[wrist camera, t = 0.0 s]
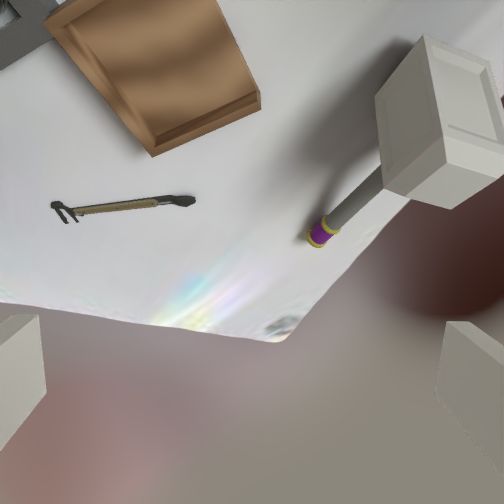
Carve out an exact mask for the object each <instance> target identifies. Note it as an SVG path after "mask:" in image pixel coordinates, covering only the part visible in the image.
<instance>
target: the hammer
mask: <svg viewBox="0 0 504 504" xmlns="http://www.w3.org/2000/svg"><path fill="white" fill-rule="evenodd" d="M374 100H375V110H376V120H377V130H378V140H379V150H380V160H381V165H380V166H379V167H378V168H377V169H376V170H375V171H374V172H373V173H372V174H371V175H369V176H368V177H367V178H366V179H365V180H364V181H363V182H362V183H361V184H360V185H359V186H358V187H357V188H356V189H355V190H354V191H353V192H352V193H351V194H350V195H349V196H348V197H347V198H346V199H345V200H344V201H342V202H341V203H340V204H339V205H338V206H337V207H336V208H335V209H334V210H333V211H332V212H331V213H330V214H328V215H325V216H324V217H323V218H322V220H321V221H320V222H319V223H318V224H317V225H316V226H315V227H314V228H311V229H310V230H309V231H308V233H307V240H308V242H309V243H310V244H311V245H312V246H313V247H316V248H321V247H323V246H324V245H325V244H326V242H327V240H328V239H330V238H331V237H332V236H333V235H334V234H337V233H338V232H339V231H340V229H341V227H342V226H343V225H344V224H345V223H346V222H347V221H348V220H349V219H351V218H352V217H353V216H354V215H355V214H356V213H357V212H358V211H359V210H360V209H361V208H362V207H363V206H365V205H366V204H367V203H368V202H369V201H370V200H371V199H372V198H373V197H375V196H376V195H377V194H378V193H379V192H380V191H381V190H382V189H383V188H384V189H387V190H389V191H392V192H394V193H396V194H399V195H401V196H404V197H407V198H411V199H415V200H418V201H422V202H426V203H429V204H432V205H436V206H440V207H443V208H447V209H452V208H454V207H455V206H457V205H458V204H460V203H461V202H463V201H464V200H466V199H467V198H469V197H471V196H472V195H474V194H475V193H477V192H478V191H480V190H481V189H483V188H484V187H486V186H488V185H489V184H491V183H492V182H494V181H495V180H497V179H498V178H499V177H500V176H502V175H503V174H504V110H503V107H502V103H501V100H500V96H499V93H498V90H497V86H496V83H495V80H494V76H493V73H492V69H491V66H490V63H489V61H487V60H484V59H482V58H480V57H477V56H475V55H472V54H470V53H467V52H465V51H463V50H460V49H458V48H455V47H453V46H450V45H448V44H445V43H443V42H441V41H438V40H436V39H433V38H431V37H428V36H426V35H424V34H423V35H422V37H421V38H420V39H419V40H418V42H417V43H416V44H415V45H414V47H413V48H412V49H411V51H410V52H409V53H408V54H407V56H406V57H405V58H404V59H403V61H402V62H401V63H400V64H399V66H398V67H397V68H396V69H395V71H394V72H393V73H392V75H391V76H390V77H389V78H388V80H387V81H386V82H385V83H384V85H383V86H382V87H381V88H380V90H379V91H378V92H377V94H376V95H375V96H374Z"/></svg>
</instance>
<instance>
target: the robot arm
mask: <svg viewBox="0 0 504 504" xmlns="http://www.w3.org/2000/svg"><path fill="white" fill-rule="evenodd" d="M45 394H46V383H45V374H44V365H43V355H42V345H41V335H40V325H39V315H25V314H23V315H22V314H20V315H19V314H13V315H12V316H10V317H9V318H7V319H6V320H5V321H4V322H2V323H1V324H0V451H1V450H2V448H3V447H4V446H5V445H6V443H7V442H8V441H9V439H10V438H11V437H12V436H13V434H14V433H15V432H16V431H17V429H18V428H19V427H20V425H21V424H22V423H23V422H24V420H25V419H26V418H27V417H28V415H29V414H30V413H31V412H32V410H33V409H34V408H35V406H36V405H37V404H38V403H39V401H40V400H41V399H42V398H43V396H44V395H45ZM434 395H435V396H436V398H437V399H438V400H439V401H440V402H441V404H442V405H443V406H444V407H445V408H446V410H447V411H448V412H449V413H450V414H451V416H452V417H453V418H454V419H455V420H456V422H457V423H458V424H459V425H460V426H461V428H462V429H463V430H464V431H465V432H466V434H467V435H468V436H469V437H470V438H471V440H472V441H473V442H474V443H475V444H476V446H477V447H478V448H479V449H480V450H481V452H482V453H483V454H484V455H485V456H486V458H487V459H488V460H489V461H490V462H491V463H492V465H493V466H494V467H495V468H496V469H497V471H498V472H499V473H500V474H501V475H502V477H503V478H504V346H503V345H501V344H500V343H499V342H497V341H496V340H494V339H493V338H491V337H490V336H488V335H487V334H486V333H484V332H483V331H481V330H480V329H479V328H477V327H476V326H474V325H473V324H472V323H470V322H454V321H447V323H446V329H445V334H444V341H443V346H442V352H441V358H440V364H439V369H438V375H437V382H436V387H435V393H434Z"/></svg>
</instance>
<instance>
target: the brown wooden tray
mask: <svg viewBox="0 0 504 504" xmlns="http://www.w3.org/2000/svg"><path fill="white" fill-rule="evenodd" d="M43 24H44V25H45V26H46V28H47V29H48V30H49V31H50V33H51V34H52V35H53V36H54V37H55V39H56V40H57V41H58V42H59V44H60V45H61V46H62V47H63V49H64V50H65V51H66V52H67V53H68V55H69V56H70V57H71V58H72V60H73V61H74V62H75V63H76V65H77V66H78V67H79V68H80V69H81V71H82V72H83V73H84V74H85V76H86V77H87V78H88V79H89V80H90V82H91V83H92V84H93V85H94V87H95V88H96V89H97V90H98V92H99V93H100V94H101V95H102V96H103V98H104V99H105V100H106V101H107V103H108V104H109V105H110V106H111V108H112V109H113V110H114V111H115V112H116V114H117V115H118V116H119V117H120V119H121V120H122V121H123V122H124V124H125V125H126V126H127V127H128V128H129V130H130V131H131V132H132V133H133V135H134V136H135V137H136V138H137V139H138V141H139V142H140V143H141V144H142V146H143V147H144V148H145V149H146V151H147V152H148V153H149V154H150V155H151V157H152V158H153V157H155V156H157V155H159V154H162V153H164V152H166V151H169V150H171V149H173V148H175V147H178V146H180V145H182V144H184V143H187V142H189V141H191V140H193V139H196V138H198V137H200V136H203V135H205V134H207V133H209V132H212V131H214V130H216V129H218V128H221V127H223V126H225V125H228V124H230V123H232V122H234V121H237V120H239V119H241V118H243V117H246V116H248V115H250V114H252V113H255V112H257V111H259V110H261V97H260V91H259V89H258V87H257V85H256V83H255V81H254V78H253V76H252V74H251V72H250V70H249V68H248V66H247V64H246V62H245V60H244V57H243V55H242V53H241V51H240V49H239V47H238V45H237V43H236V41H235V39H234V37H233V34H232V32H231V30H230V28H229V26H228V24H227V22H226V20H225V18H224V16H223V14H222V11H221V9H220V7H219V5H218V3H217V1H216V0H66V1H65V2H63V3H62V4H60V5H59V6H58V7H57V8H56V10H55V11H54V12H53V13H52V14H51V15H50V16H48V17H47V18H46V19H45V20H44V21H43Z"/></svg>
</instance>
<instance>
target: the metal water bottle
mask: <svg viewBox="0 0 504 504" xmlns="http://www.w3.org/2000/svg"><path fill="white" fill-rule="evenodd" d="M6 7H7V0H0V15H1V14H2V13H3V12H4V11H5V9H6Z"/></svg>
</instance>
